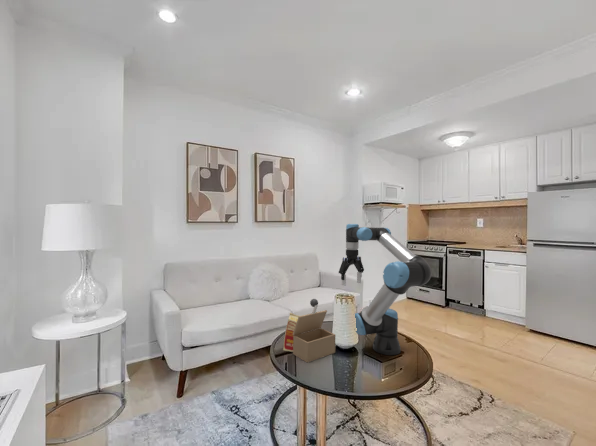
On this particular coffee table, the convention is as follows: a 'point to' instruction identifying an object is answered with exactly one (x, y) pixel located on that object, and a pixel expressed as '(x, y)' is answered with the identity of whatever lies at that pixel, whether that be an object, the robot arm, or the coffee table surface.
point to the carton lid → (310, 320)
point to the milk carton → (290, 332)
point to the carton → (313, 344)
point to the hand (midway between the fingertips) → (351, 284)
